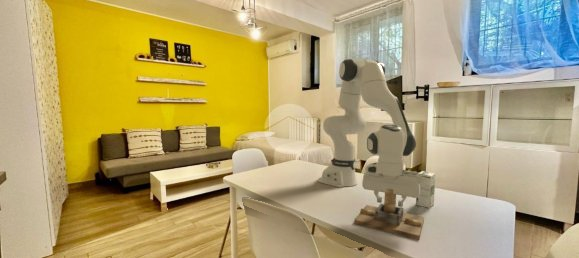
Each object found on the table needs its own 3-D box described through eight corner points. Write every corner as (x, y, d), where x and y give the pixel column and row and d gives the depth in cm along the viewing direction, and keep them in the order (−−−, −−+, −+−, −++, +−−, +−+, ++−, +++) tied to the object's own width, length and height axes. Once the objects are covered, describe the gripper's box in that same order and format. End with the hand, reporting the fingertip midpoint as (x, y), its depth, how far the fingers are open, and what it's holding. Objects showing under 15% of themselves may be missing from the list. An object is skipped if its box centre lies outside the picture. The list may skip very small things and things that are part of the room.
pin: (382, 218, 93) (384, 188, 92) (384, 214, 97) (386, 185, 95) (393, 221, 91) (395, 190, 90) (395, 217, 94) (397, 187, 93)
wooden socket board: (354, 223, 93) (354, 210, 93) (366, 208, 107) (366, 197, 106) (419, 239, 81) (419, 225, 81) (423, 220, 95) (424, 208, 94)
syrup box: (420, 201, 113) (421, 170, 112) (434, 204, 109) (435, 172, 108) (415, 205, 109) (416, 173, 108) (430, 208, 105) (431, 175, 104)
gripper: (422, 170, 89) (421, 206, 90) (365, 163, 100) (365, 196, 101) (420, 174, 84) (419, 213, 85) (361, 166, 95) (360, 201, 96)
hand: (389, 204), depth 93 cm, fingers open, 6 cm apart
